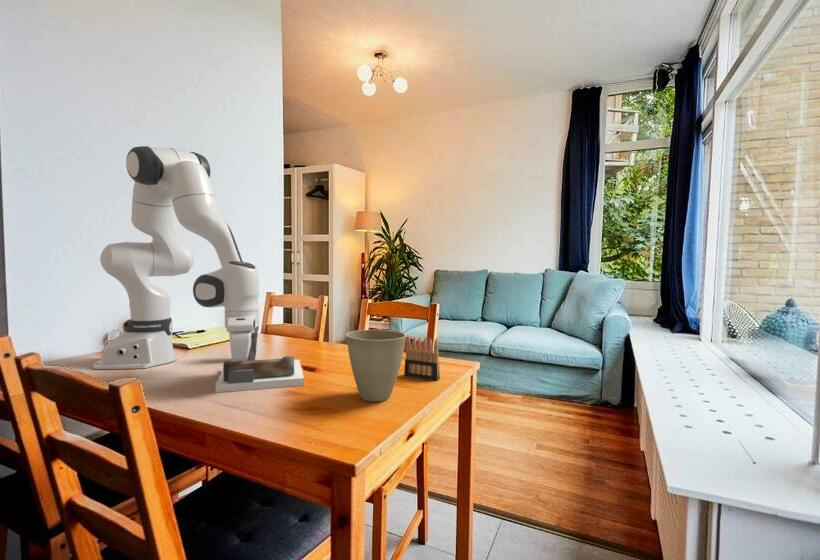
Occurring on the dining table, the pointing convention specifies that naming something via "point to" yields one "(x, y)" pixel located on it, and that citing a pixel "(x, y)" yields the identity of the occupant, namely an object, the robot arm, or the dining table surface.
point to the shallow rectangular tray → (258, 380)
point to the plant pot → (375, 361)
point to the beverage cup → (253, 345)
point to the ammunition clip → (422, 360)
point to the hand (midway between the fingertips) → (242, 369)
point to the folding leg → (262, 367)
